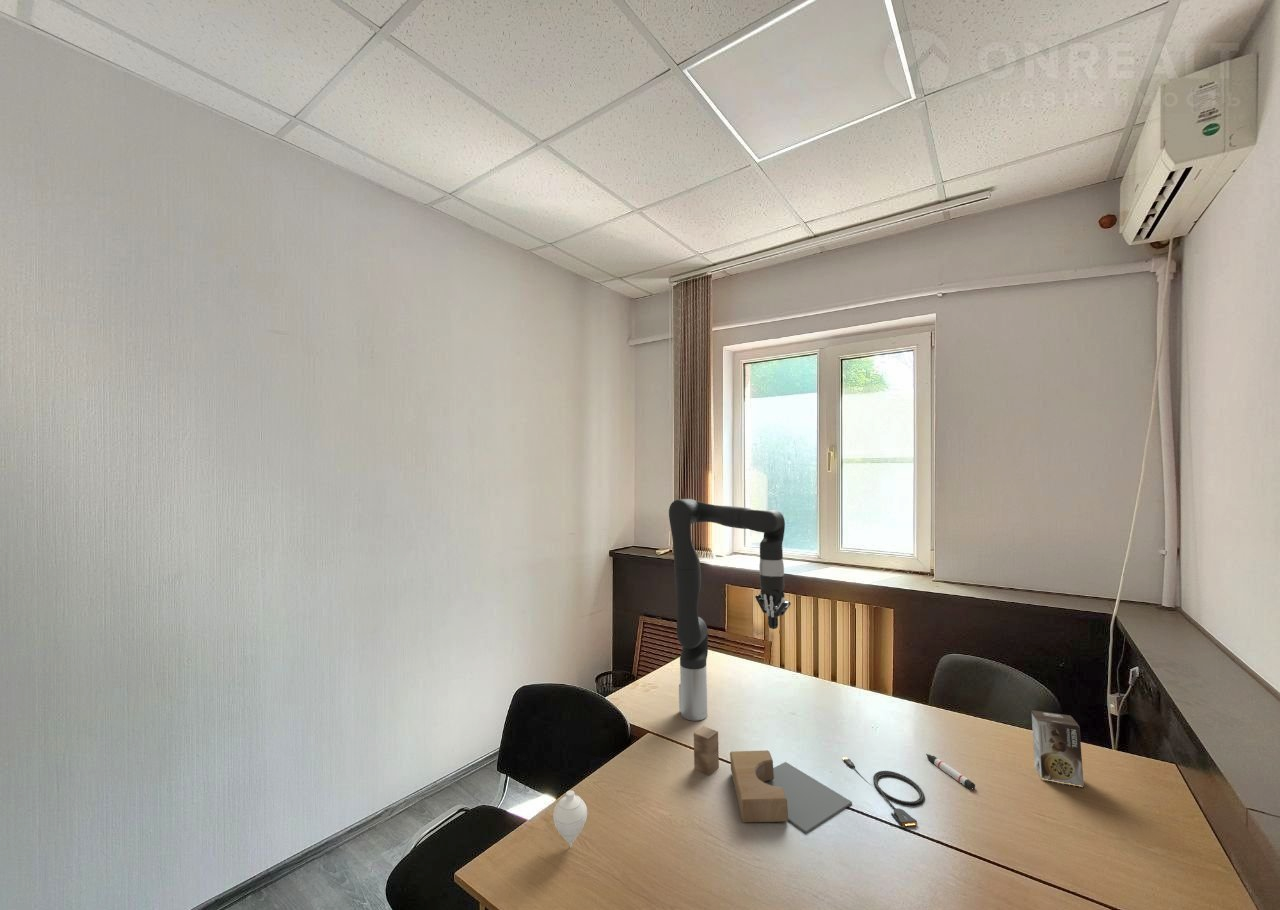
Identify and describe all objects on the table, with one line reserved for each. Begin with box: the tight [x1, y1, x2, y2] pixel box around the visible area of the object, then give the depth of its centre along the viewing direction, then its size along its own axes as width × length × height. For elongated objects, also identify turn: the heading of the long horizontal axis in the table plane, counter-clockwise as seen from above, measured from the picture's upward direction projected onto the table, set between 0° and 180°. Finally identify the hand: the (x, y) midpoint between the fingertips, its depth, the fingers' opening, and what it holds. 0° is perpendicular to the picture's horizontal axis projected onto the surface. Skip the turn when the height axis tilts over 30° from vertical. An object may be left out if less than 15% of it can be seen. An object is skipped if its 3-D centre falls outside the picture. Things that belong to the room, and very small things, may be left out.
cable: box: [841, 757, 926, 829], centre depth 129 cm, size 14×28×2 cm, turn 6°
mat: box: [764, 761, 853, 834], centre depth 127 cm, size 21×18×1 cm
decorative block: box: [729, 750, 789, 823], centre depth 126 cm, size 11×6×20 cm
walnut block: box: [693, 725, 720, 776], centre depth 139 cm, size 5×5×10 cm
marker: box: [925, 753, 976, 790], centre depth 135 cm, size 15×2×2 cm, turn 13°
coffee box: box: [1030, 709, 1085, 787], centre depth 132 cm, size 9×6×16 cm
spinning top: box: [552, 789, 588, 848], centre depth 110 cm, size 8×8×12 cm
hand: (773, 628), depth 154 cm, fingers closed
